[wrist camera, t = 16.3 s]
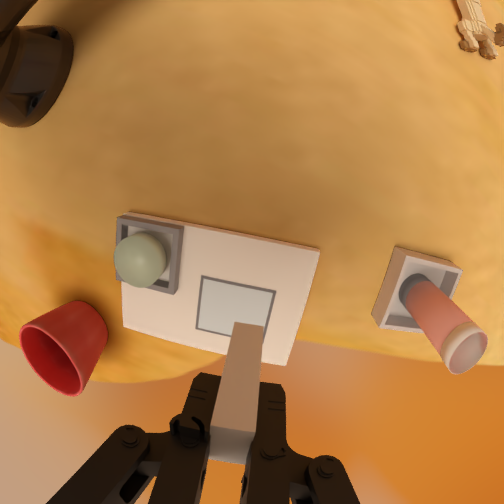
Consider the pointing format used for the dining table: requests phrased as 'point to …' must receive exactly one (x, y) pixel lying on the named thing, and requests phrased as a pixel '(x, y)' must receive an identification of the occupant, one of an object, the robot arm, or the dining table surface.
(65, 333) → the flower pot
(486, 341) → the tumbler
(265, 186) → the dining table surface
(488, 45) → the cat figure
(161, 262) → the button
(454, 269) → the tray
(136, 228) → the board
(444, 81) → the dining table surface
